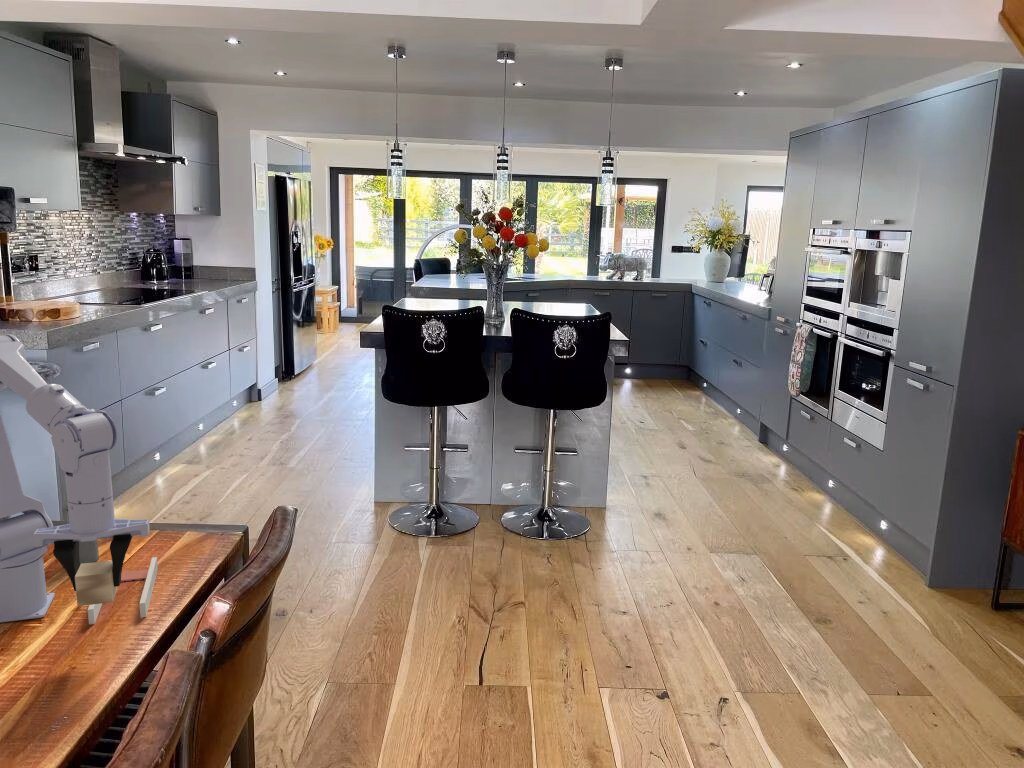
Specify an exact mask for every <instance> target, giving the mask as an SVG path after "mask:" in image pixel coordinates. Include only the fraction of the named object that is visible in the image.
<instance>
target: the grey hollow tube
mask: <svg viewBox="0 0 1024 768" xmlns="http://www.w3.org/2000/svg"><path fill="white" fill-rule="evenodd" d="M65 510H66V511H65V513H66V524H69V514H68V507H67V508H66V509H65ZM98 540H99V539H96V540H94V541H86V542H81V541H79V559H80V565H81V564H83V563H92V562H98V561H99V559H100V552H99V542H98Z"/></svg>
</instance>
